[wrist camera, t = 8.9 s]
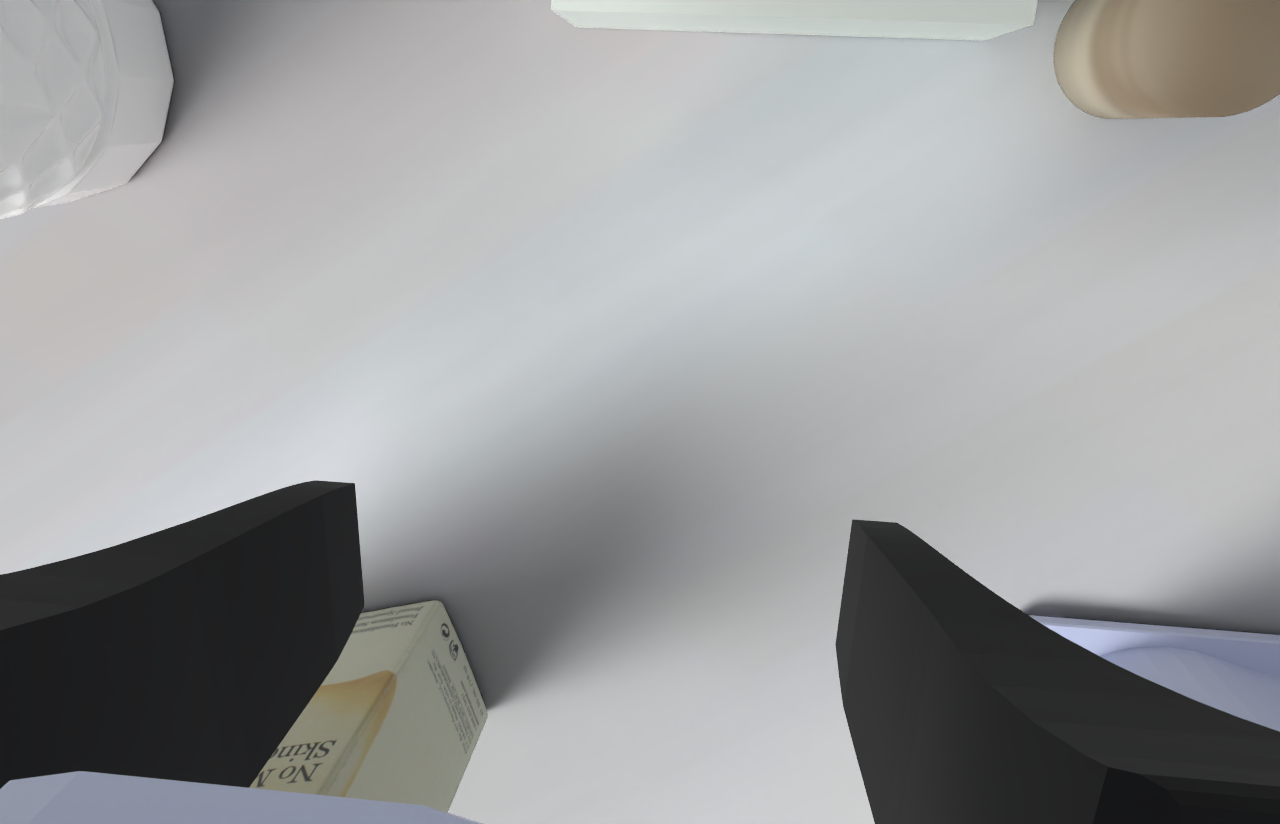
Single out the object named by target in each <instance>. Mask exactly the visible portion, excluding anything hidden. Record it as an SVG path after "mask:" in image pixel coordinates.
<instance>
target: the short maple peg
mask: <svg viewBox="0 0 1280 824" xmlns="http://www.w3.org/2000/svg"><path fill="white" fill-rule="evenodd" d="M1054 68H1055V73H1056V77H1057V81H1058V83H1059V85H1060V87H1061V89H1062V91H1063V92H1064V94H1065V96H1066V97H1067V98H1068V99H1069V100H1070V101H1071V102H1072V103H1073V104H1074V105H1075V106H1076V107H1077V108H1079V109H1081V110H1082V111H1084V112H1086V113H1088V114H1090V115H1093V116H1096V117H1100V118H1107V119H1131V118H1183V117H1224V116H1230V115H1236V114H1239V113H1243V112H1247V111H1249V110H1252V109H1254V108H1256V107H1259V106H1261V105H1263V104H1264V103H1266V102H1268V101H1270V100H1271V99H1273V98H1274V97H1276V96H1277V95H1279V94H1280V0H1076V1H1075V2H1074V3H1073V4H1072V5H1071V7H1070V8H1069V10H1068V11H1067V13H1066V15H1065V17H1064V18H1063V20H1062V22H1061V25H1060V27H1059V30H1058V33H1057V36H1056V41H1055V46H1054Z"/></svg>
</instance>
